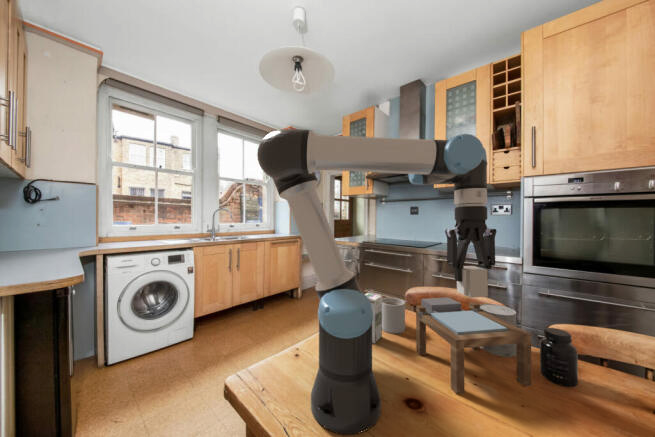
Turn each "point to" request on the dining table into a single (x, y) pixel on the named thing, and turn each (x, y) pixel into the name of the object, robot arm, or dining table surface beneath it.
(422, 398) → the dining table surface
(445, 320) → the trapdoor
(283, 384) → the dining table surface
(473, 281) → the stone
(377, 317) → the syrup box
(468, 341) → the hatch frame
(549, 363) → the supplement bottle
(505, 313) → the short grey cylinder
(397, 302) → the mug
